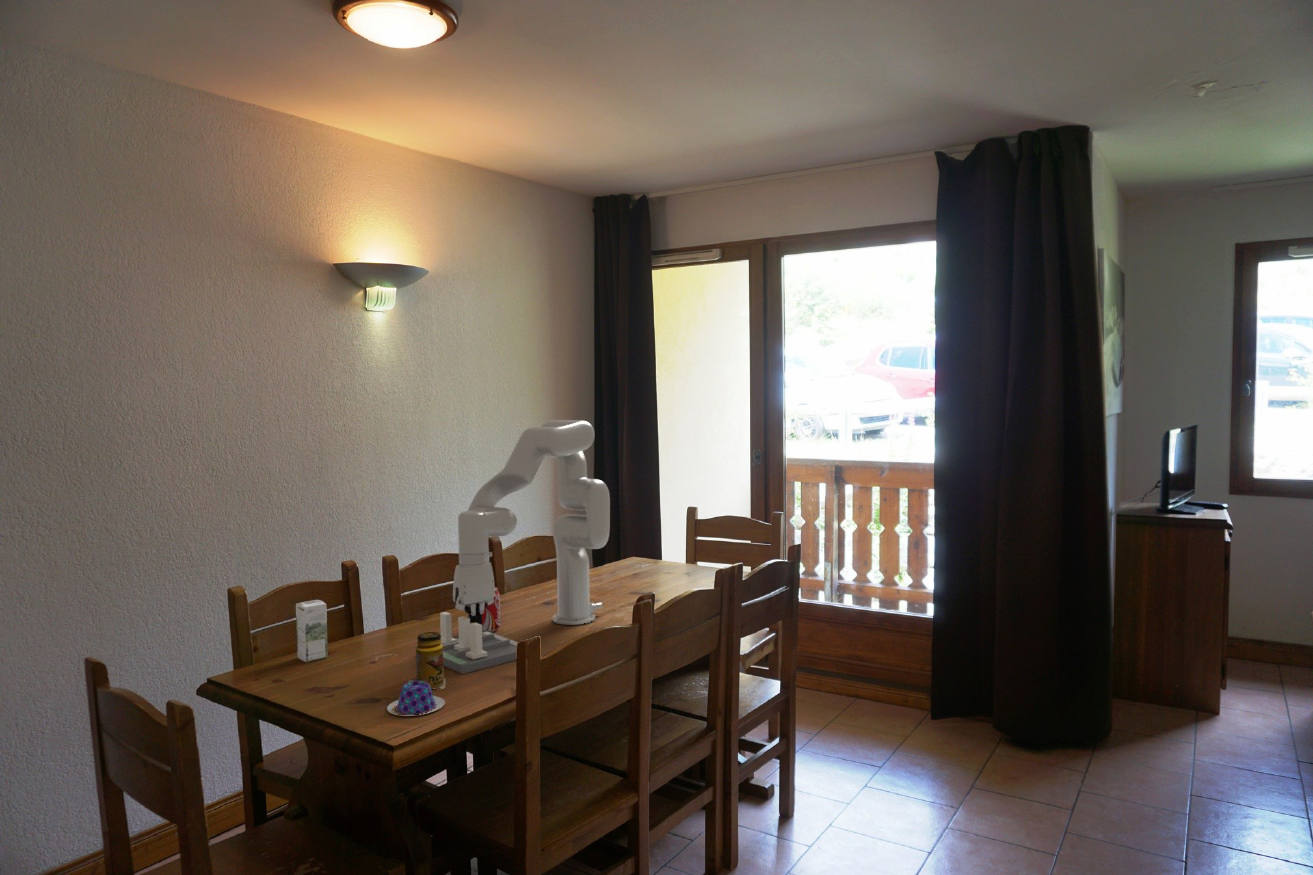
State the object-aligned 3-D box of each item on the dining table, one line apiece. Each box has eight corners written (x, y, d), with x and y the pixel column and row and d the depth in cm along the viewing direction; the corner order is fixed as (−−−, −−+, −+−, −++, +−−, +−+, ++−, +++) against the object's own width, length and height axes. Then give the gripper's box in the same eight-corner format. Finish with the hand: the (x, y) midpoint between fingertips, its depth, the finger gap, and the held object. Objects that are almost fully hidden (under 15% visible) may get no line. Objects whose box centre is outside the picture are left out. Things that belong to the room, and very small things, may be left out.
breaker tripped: (468, 645, 217) (467, 615, 217) (475, 648, 215) (474, 617, 214) (454, 648, 215) (453, 618, 214) (461, 651, 212) (460, 620, 212)
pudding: (403, 697, 188) (403, 674, 187) (454, 699, 186) (453, 676, 185) (376, 717, 176) (375, 692, 176) (429, 720, 174) (429, 695, 173)
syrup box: (318, 653, 220) (317, 598, 220) (328, 658, 216) (326, 602, 215) (296, 658, 216) (294, 602, 216) (306, 663, 212) (304, 606, 211)
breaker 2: (479, 652, 211) (479, 621, 211) (487, 655, 209) (486, 624, 208) (465, 656, 208) (464, 624, 208) (473, 659, 206) (472, 627, 205)
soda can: (494, 634, 236) (493, 591, 235) (471, 632, 237) (470, 591, 237) (504, 627, 243) (503, 586, 242) (481, 626, 244) (480, 585, 244)
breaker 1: (449, 640, 222) (449, 610, 222) (456, 643, 220) (456, 613, 219) (436, 643, 219) (435, 613, 219) (442, 646, 217) (442, 616, 216)
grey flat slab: (485, 638, 232) (485, 627, 232) (531, 655, 216) (531, 643, 215) (419, 654, 218) (418, 642, 218) (462, 673, 202) (462, 660, 202)
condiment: (445, 689, 192) (443, 637, 191) (406, 692, 190) (405, 640, 189) (445, 678, 199) (444, 628, 198) (408, 681, 197) (407, 631, 196)
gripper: (491, 553, 224) (492, 621, 225) (440, 561, 213) (442, 632, 214) (506, 556, 218) (508, 626, 219) (455, 565, 208) (457, 638, 209)
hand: (475, 629), depth 217 cm, fingers closed
